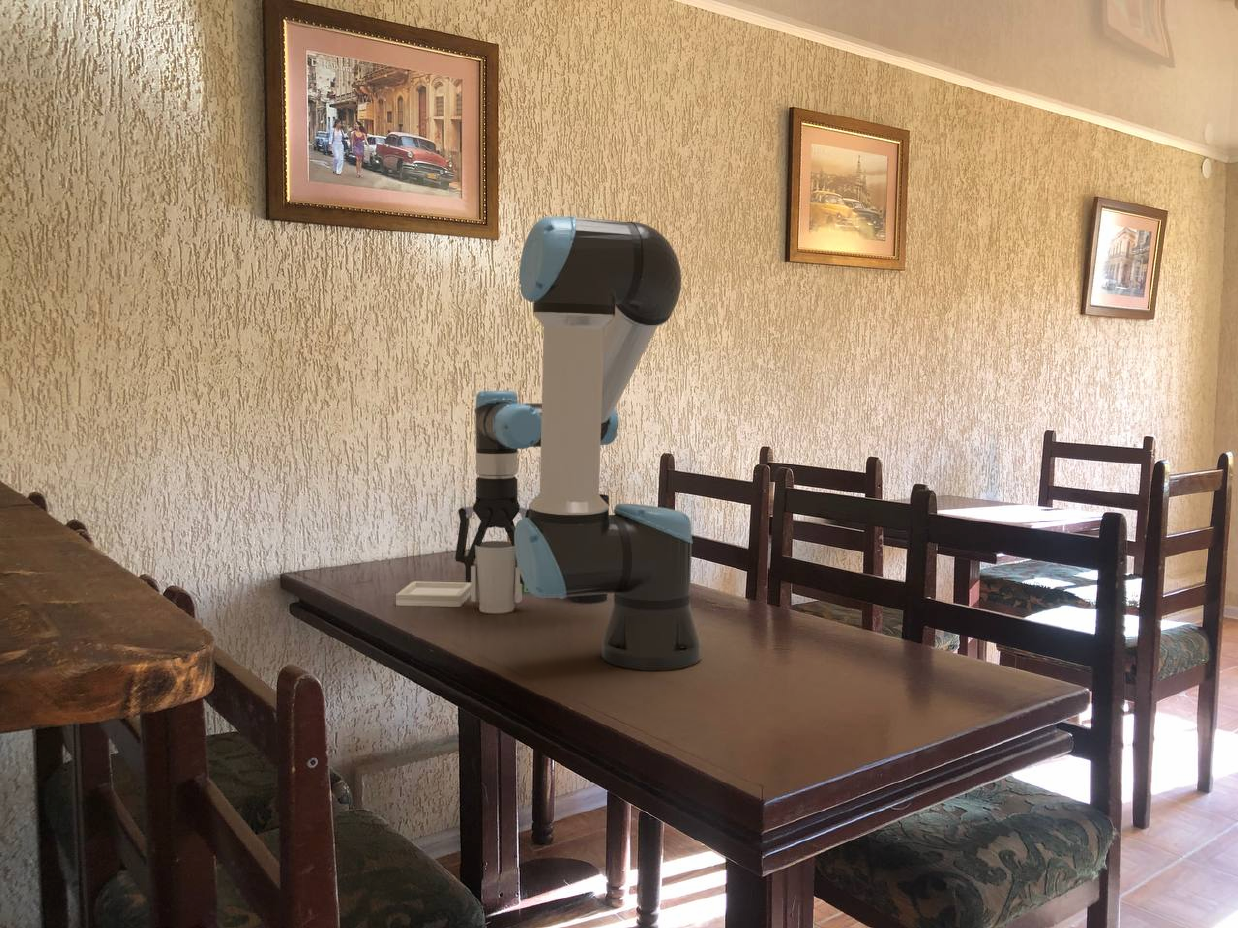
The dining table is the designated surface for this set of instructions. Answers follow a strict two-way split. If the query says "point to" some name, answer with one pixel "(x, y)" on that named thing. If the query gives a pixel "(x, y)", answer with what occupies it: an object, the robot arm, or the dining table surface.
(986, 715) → the dining table surface
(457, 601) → the cream square tray
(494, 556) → the cup
